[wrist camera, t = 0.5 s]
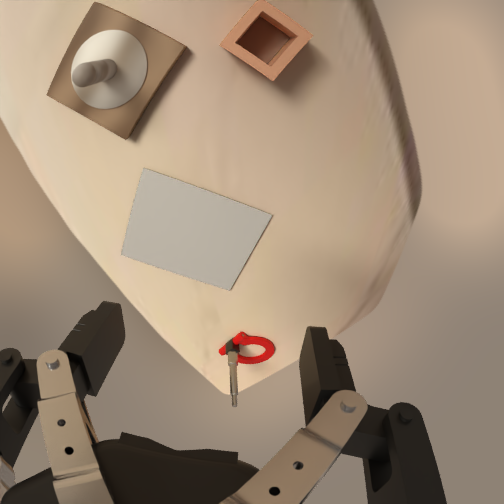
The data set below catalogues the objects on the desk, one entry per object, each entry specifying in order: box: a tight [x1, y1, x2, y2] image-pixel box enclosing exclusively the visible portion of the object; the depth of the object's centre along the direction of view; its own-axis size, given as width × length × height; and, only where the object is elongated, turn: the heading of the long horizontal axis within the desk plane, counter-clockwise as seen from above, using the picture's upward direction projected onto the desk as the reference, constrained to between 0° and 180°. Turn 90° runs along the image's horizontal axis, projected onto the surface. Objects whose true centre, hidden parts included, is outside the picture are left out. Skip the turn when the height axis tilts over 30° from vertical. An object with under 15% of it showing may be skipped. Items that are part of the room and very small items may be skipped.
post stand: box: [47, 2, 187, 140], centre depth 23 cm, size 12×12×8 cm
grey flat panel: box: [121, 168, 272, 291], centre depth 39 cm, size 23×25×1 cm
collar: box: [220, 0, 313, 81], centre depth 24 cm, size 6×6×4 cm
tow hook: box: [219, 332, 275, 407], centre depth 51 cm, size 8×13×9 cm
